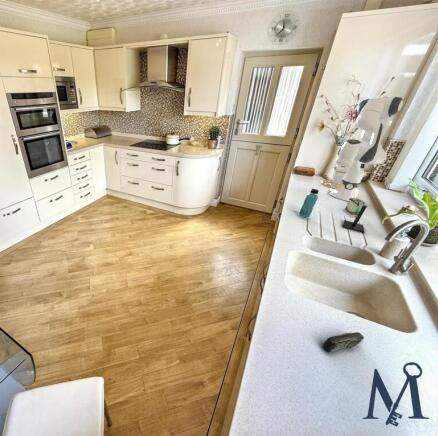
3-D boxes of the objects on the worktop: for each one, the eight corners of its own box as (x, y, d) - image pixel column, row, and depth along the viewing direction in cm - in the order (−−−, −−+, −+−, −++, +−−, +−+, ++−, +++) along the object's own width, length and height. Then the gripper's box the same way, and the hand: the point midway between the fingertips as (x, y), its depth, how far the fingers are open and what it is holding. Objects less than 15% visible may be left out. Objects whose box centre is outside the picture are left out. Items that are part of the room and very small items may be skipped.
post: (342, 221, 153) (354, 200, 145) (362, 226, 148) (374, 205, 140) (343, 227, 145) (355, 206, 138) (363, 233, 141) (377, 211, 133)
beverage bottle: (308, 216, 157) (320, 188, 147) (309, 220, 151) (322, 192, 141) (297, 213, 159) (308, 186, 149) (298, 218, 154) (310, 190, 144)
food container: (362, 219, 156) (370, 206, 151) (352, 217, 157) (360, 204, 152) (352, 210, 167) (359, 198, 162) (343, 209, 168) (349, 197, 162)
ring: (320, 180, 170) (321, 177, 168) (343, 185, 163) (344, 182, 162) (319, 186, 160) (320, 183, 158) (343, 191, 153) (345, 188, 152)
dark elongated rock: (333, 345, 73) (371, 335, 76) (325, 337, 75) (361, 327, 78) (327, 354, 75) (363, 344, 78) (319, 345, 78) (354, 336, 81)
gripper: (336, 161, 158) (327, 180, 165) (336, 169, 144) (326, 189, 151) (347, 163, 155) (338, 182, 162) (348, 171, 141) (338, 192, 148)
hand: (332, 186), depth 156 cm, fingers closed on ring, 2 cm apart
